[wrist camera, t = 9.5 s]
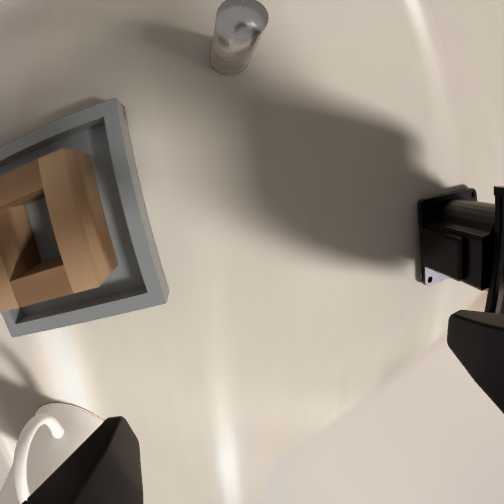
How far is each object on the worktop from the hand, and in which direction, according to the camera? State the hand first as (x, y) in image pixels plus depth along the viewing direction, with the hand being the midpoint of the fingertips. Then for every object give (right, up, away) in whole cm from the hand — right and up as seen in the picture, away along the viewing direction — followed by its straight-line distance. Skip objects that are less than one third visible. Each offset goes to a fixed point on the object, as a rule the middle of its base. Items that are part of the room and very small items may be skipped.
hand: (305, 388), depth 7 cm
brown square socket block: (-13, +5, +9) cm, 16 cm away
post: (-3, +14, +9) cm, 17 cm away
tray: (-13, +5, +9) cm, 16 cm away
